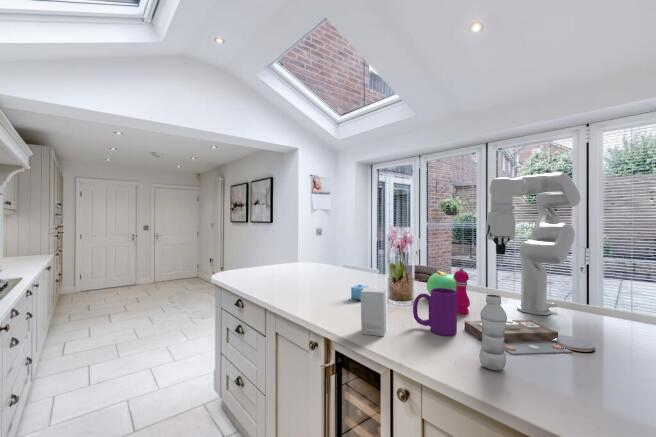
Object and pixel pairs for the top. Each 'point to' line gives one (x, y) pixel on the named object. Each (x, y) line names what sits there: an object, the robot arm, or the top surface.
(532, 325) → the button
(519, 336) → the button board
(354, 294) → the teapot
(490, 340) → the plastic bottle
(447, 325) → the mug
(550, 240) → the robot arm
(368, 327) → the skincare box
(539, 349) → the pattern card
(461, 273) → the pepper mill
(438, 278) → the toy bird
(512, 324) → the middle button
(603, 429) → the top surface
